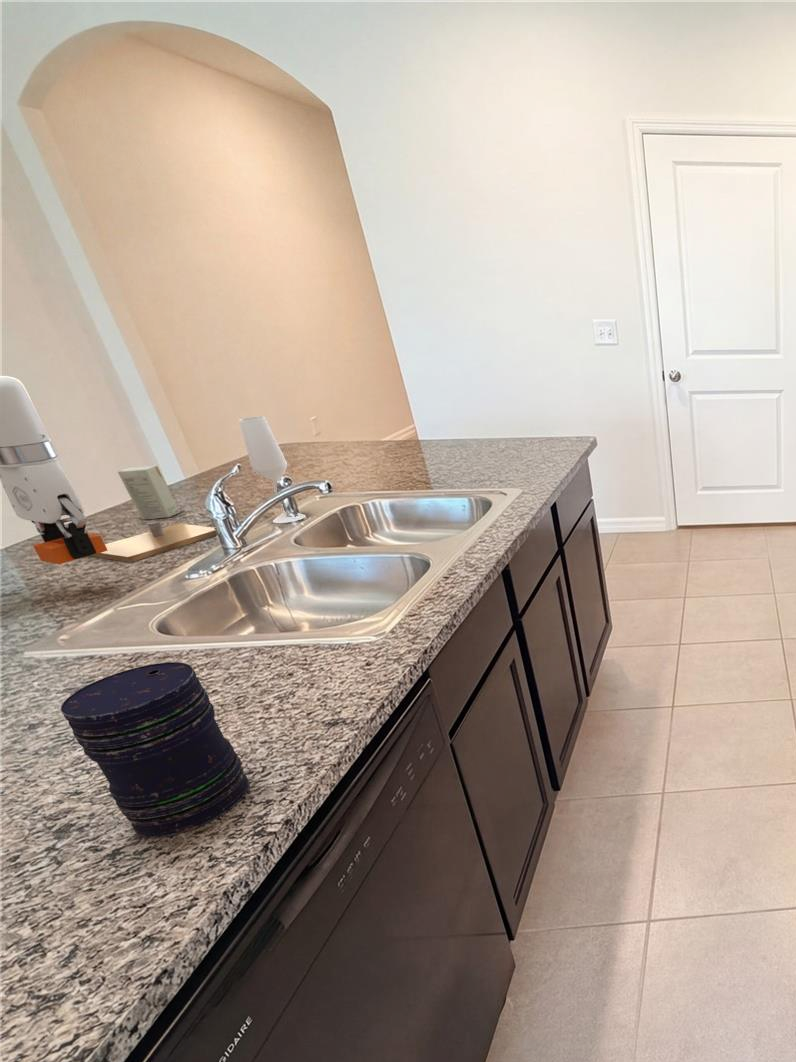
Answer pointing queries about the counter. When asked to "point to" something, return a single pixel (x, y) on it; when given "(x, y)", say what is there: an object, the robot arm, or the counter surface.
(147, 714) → the stacked disc cylinder
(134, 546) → the base pad
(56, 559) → the orange block
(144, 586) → the counter surface
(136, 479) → the cosmetic box
